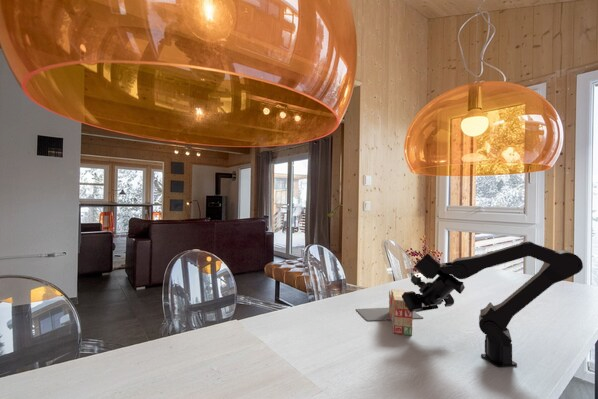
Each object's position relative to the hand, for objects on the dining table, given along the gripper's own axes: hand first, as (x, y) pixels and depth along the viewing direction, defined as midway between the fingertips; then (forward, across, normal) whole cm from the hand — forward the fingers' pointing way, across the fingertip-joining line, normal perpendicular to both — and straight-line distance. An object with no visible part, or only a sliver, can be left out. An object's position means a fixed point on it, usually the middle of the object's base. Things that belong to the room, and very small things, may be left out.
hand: (415, 310), depth 105 cm
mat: (+18, -2, -7) cm, 20 cm away
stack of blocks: (+11, 0, -1) cm, 11 cm away
